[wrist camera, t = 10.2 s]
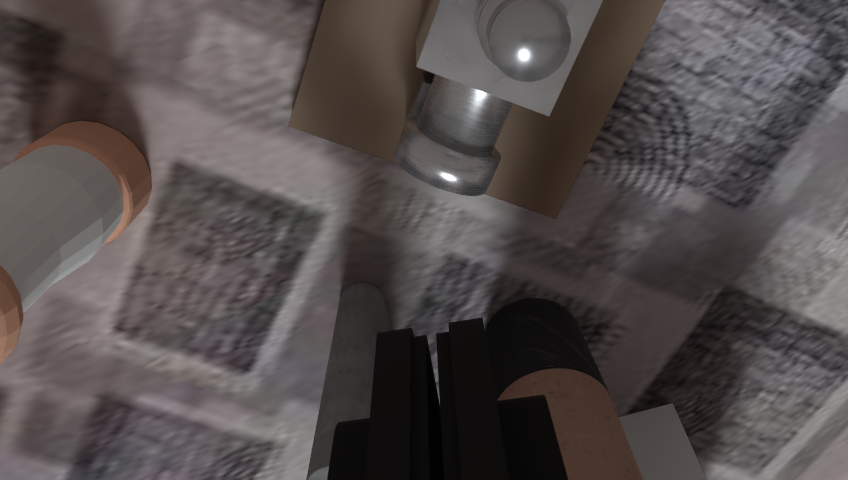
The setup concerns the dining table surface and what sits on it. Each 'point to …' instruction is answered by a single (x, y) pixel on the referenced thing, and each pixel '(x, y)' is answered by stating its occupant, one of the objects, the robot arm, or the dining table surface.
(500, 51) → the lever
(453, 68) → the valve body
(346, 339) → the hip flask
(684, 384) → the dining table surface
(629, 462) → the travel mug
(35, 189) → the salt shaker
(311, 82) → the walnut board
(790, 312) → the dining table surface
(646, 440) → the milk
